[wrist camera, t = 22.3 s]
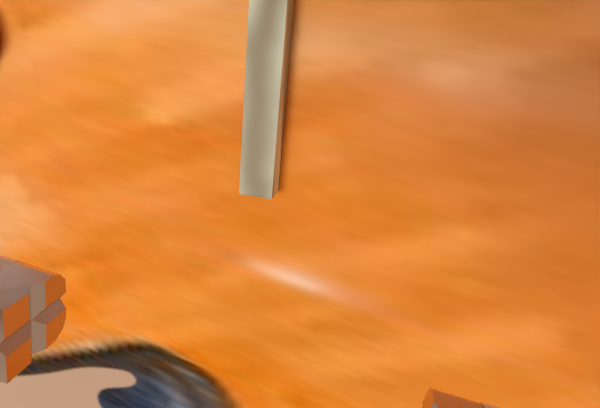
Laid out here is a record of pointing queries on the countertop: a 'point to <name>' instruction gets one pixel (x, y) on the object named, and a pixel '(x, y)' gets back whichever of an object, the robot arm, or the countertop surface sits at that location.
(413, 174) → the countertop surface
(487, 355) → the countertop surface
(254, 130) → the beige block
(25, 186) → the countertop surface
